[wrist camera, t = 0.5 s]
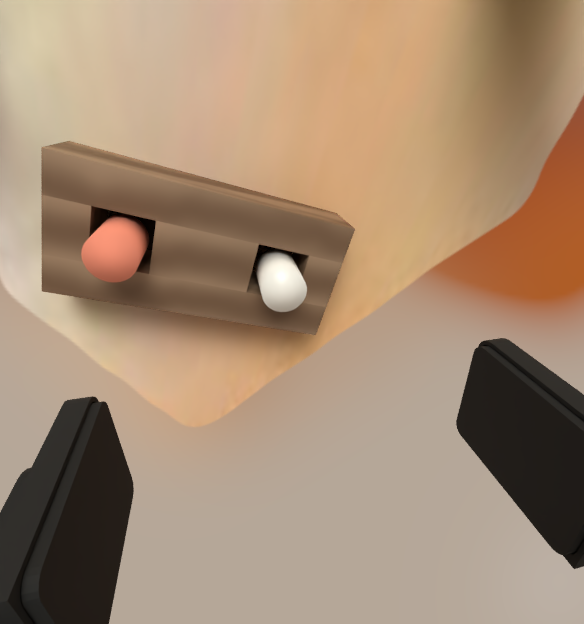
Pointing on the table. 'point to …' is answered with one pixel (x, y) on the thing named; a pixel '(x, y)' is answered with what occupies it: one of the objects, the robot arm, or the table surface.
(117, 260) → the red plug
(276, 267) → the white plug
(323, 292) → the plug block
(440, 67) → the table surface
